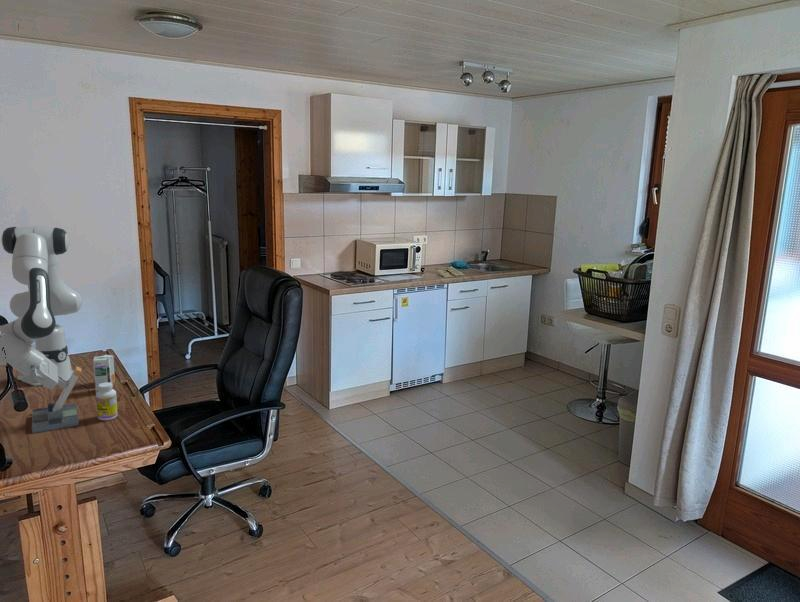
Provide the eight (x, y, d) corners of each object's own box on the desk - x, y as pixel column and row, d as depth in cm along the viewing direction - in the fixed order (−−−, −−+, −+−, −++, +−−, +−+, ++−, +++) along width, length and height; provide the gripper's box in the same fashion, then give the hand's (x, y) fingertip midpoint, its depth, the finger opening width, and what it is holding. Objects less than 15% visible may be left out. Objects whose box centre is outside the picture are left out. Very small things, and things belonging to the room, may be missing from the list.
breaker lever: (51, 417, 203) (76, 370, 204) (51, 410, 209) (75, 365, 210) (56, 418, 204) (82, 372, 205) (56, 411, 210) (80, 366, 211)
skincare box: (106, 386, 241) (103, 359, 239) (97, 385, 242) (94, 358, 240) (115, 381, 247) (113, 355, 245) (107, 380, 248) (105, 354, 245)
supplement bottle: (93, 419, 209) (90, 385, 207) (108, 412, 215) (106, 380, 213) (107, 422, 207) (104, 388, 204) (122, 415, 213) (119, 383, 210)
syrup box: (95, 394, 232) (92, 360, 229) (96, 389, 238) (94, 356, 235) (111, 392, 235) (108, 358, 232) (112, 387, 240) (109, 354, 237)
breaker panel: (32, 433, 197) (30, 419, 196) (33, 416, 210) (31, 403, 209) (79, 425, 204) (77, 411, 203) (76, 409, 217) (75, 396, 216)
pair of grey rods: (33, 415, 211) (32, 410, 211) (33, 411, 214) (32, 407, 213) (76, 408, 218) (76, 404, 218) (76, 405, 221) (75, 401, 221)
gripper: (38, 364, 191) (74, 387, 198) (38, 348, 208) (71, 370, 215) (23, 379, 190) (60, 402, 197) (25, 361, 207) (59, 383, 214)
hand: (66, 385), depth 206 cm, fingers closed, pressing on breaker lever
